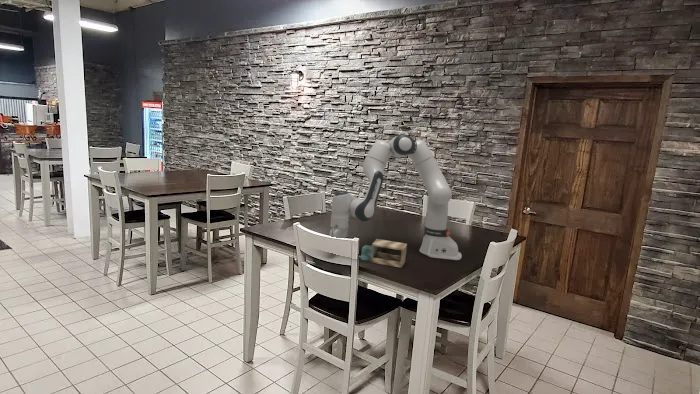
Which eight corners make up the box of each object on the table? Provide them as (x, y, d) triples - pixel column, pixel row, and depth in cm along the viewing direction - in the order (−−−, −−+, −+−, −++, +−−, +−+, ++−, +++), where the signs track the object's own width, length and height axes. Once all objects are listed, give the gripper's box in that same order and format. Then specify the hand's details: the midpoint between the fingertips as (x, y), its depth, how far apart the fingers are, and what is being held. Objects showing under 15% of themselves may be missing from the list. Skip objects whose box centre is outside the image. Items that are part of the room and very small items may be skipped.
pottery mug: (372, 255, 205) (374, 239, 208) (381, 259, 212) (383, 244, 215) (392, 255, 198) (394, 239, 201) (401, 259, 205) (402, 244, 208)
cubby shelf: (405, 261, 198) (407, 243, 196) (401, 267, 188) (403, 249, 187) (375, 256, 202) (376, 238, 200) (370, 262, 192) (372, 243, 191)
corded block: (375, 258, 199) (376, 246, 198) (372, 261, 194) (373, 249, 193) (340, 251, 205) (341, 240, 204) (336, 254, 199) (337, 243, 198)
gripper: (338, 228, 189) (336, 256, 191) (350, 220, 208) (348, 245, 210) (326, 226, 190) (324, 254, 193) (339, 218, 210) (337, 243, 212)
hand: (337, 249), depth 202 cm, fingers open, 8 cm apart
